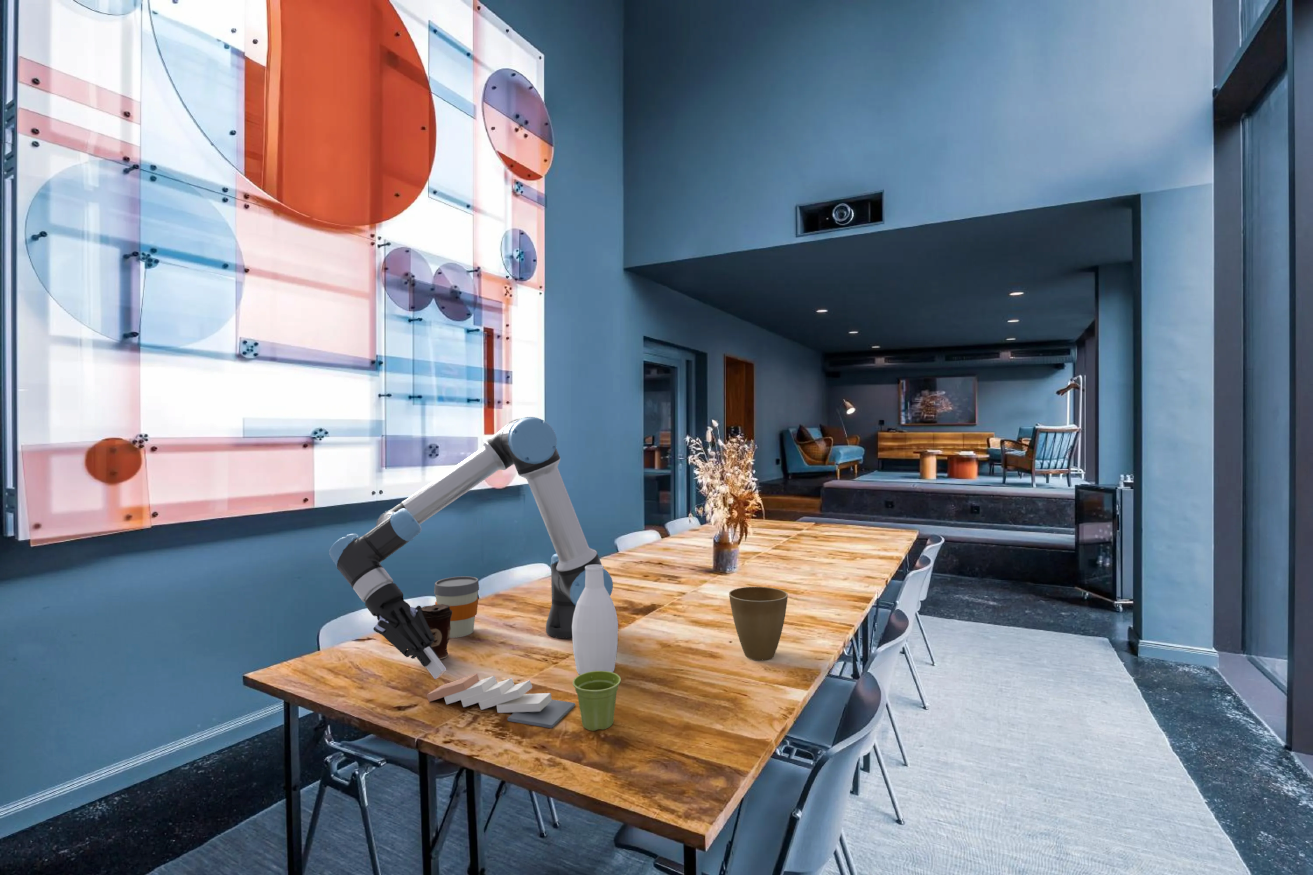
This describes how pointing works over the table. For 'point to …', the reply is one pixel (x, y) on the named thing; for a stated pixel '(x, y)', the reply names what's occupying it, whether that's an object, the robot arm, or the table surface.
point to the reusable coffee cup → (459, 602)
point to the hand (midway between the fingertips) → (440, 674)
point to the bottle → (594, 625)
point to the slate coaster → (544, 714)
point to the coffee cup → (439, 626)
